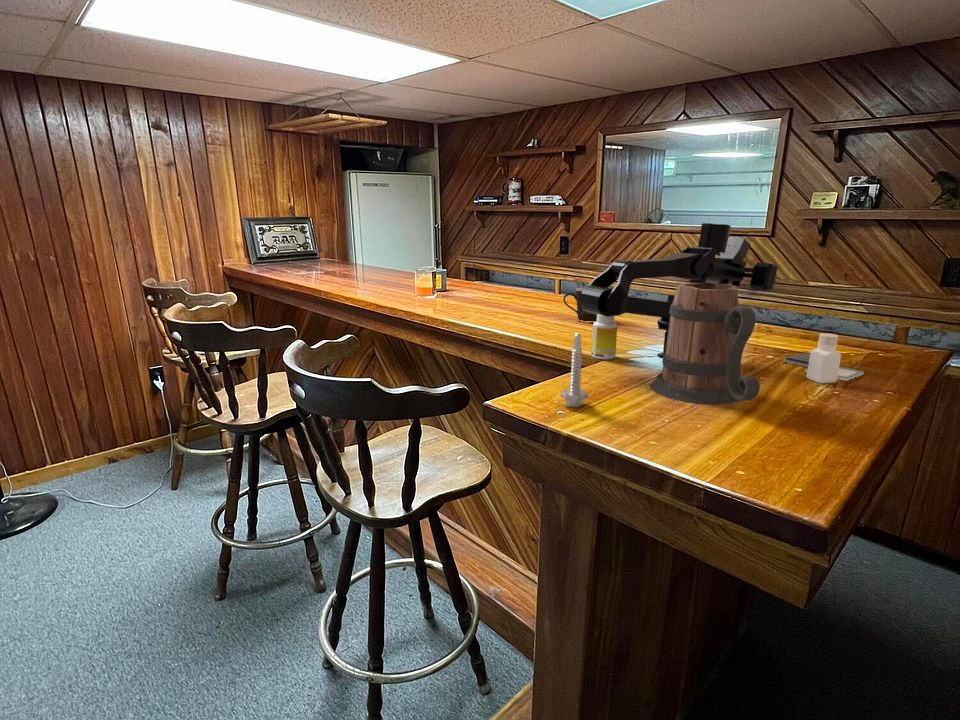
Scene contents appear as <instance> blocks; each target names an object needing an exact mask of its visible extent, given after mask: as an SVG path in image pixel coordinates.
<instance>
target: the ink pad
mask: <svg viewBox="0 0 960 720" xmlns="http://www.w3.org/2000/svg"><path fill="white" fill-rule="evenodd" d="M809 358H810V354H809V353H804V352H800V353H797V354H793V355H790V356H786V358H783V359H782V363H783V362H788V363H793V364H796V365H795V366H797V365H800V366H799V367H802V366H805V367H804V368H807V367H808V364H809ZM788 363H787V364H788Z"/></svg>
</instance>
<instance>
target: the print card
mask: <svg viewBox="0 0 960 720" xmlns="http://www.w3.org/2000/svg"><path fill="white" fill-rule="evenodd" d="M807 370H808V368H807V367H806V368H805V369H804V371H805V372H804V373H807ZM864 373H865V372H864V371H863V370H860V369H859V370H858V369H852V368H848V367H842V366H839V370H838V376H837V380H839V379H840V380H839V381H843V380H844V382H847V381H851V380H853V379H856V378H858V377H860V376H863V375H864ZM855 377H856V378H855ZM850 379H851V380H850Z"/></svg>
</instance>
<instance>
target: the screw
mask: <svg viewBox="0 0 960 720" xmlns="http://www.w3.org/2000/svg"><path fill="white" fill-rule="evenodd" d="M572 345H573V346H572V347H571V348H572V349H571V351H572V352H571V355H572V356H571V359H570V361H571V362H570V364H571V366H570V367H571V369H570V371H571V372H570V376H569V377H570V380H569V381H570V382H569V383H570V385H569V387H570V388H569V387H568V388H565V389H563V390H562V391H561V392H560V396H561V397H562V398H563V399H566V400H565V403H566V404H565V405H567V406H568V407H570V408H579V407H581V406H583V405H584V404H583V402H584V400H586V399H588V398H589V397H590V393H588V392H587V391H586V390H585V389H582V388H581V386H582V385H581V382H582V381H581V380H582V378H581V376H582V374H581V373H582V368H581V367H582V366H583V365H582V363H583V361H582V360H583V358H582V357H583V355H582V354H583V351H582V350H583V348H582V336H581V334H580V333H579V332H577V333H575V334H574V337H573V343H572Z"/></svg>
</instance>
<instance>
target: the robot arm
mask: <svg viewBox="0 0 960 720" xmlns="http://www.w3.org/2000/svg"><path fill="white" fill-rule="evenodd" d="M731 228H732V226H731V225H730V224H722V223H721V224H719V223H710V222H708V223H707V222H704V223H703V222H702V224H701V227H700V234H699V235H700V236H699V240H698V244H697V246H690V245H689V246H687V247H686V248H685V249H683V250H682V251H679V252H675V253H672V254H668V255H666V256H665V257H661V258H650V259H648V258H647V259H634V260H633V259H632V260H631V259H630V260H625V259H624V260H623V259H617V260H615V261H613V262H612V263H611V264H610V265H609V266H608V267H607V269H605V270H604V271H603V272H602V273H600V274H599V275H597V276H595V278H593V279H592V280H591V281H590V283H589V284H588V285H587V286H585V287H584V288H585V289H584V290H583V291H582V293H581V295H580V306H581V307H582V310H584V311H586V312H590V313H594V314H598V315H602V316H606V317H610V316H615V317H618V316H622V315H624V314H631V315H640V316H647V317H648V316H649V317H655V318H658V320H657V321H656V322H657V326H658V330H663V331H664V339H663V351H662V352H661V353H660V352H659V353H657V355H656V356H657V357H660V358H663V354H664V353H665V351H666V344H667V337H668V330H669V322H670V306H671V304H673V300H674V297H675V294H673V293H668V294H667V299H665V300H661V299H660V300H658V299H652V298H644V297H638V296H632V295H631V296H630V295H629V293H630V288H631V284H632V283H633V281H634V280H637V279H638V280H639V279H650V278H651V279H652V278H663V277H665V278H666V277H667V278H668V277H669V278H675V279H684V280H689V282H690V283H704V284H729V285H735V286H737V288H740V285H741V282H743V279H744V278H747V279H750V282H749V287H750V289H751V290H753V291H761V292H771V291H772V290H773V287H774V285H775V283H776V282H777V271H778V265H777V264H775V263H769V262H767V263H766V262H757V263H755V265H754V266H753V267H746V266H747V262H748V261H746V260H745V258H746V256H747V254H748V252H749V250H750V249H751V247H752V243H750V242H749V241H748V240H747V239H746V238H744V236H730V231H731ZM716 256H718V257H716ZM616 282H617V283H616ZM615 283H616V284H615ZM613 284H615V286H614V288H611V287H610V286H612V285H613Z"/></svg>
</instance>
